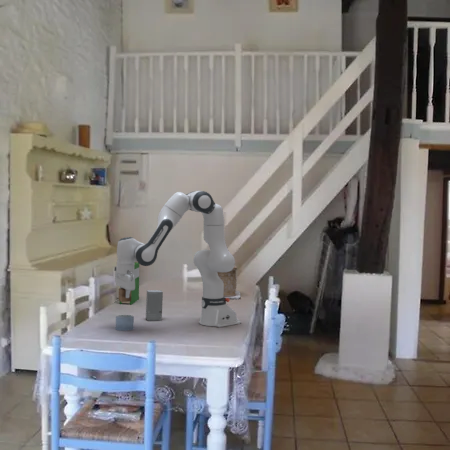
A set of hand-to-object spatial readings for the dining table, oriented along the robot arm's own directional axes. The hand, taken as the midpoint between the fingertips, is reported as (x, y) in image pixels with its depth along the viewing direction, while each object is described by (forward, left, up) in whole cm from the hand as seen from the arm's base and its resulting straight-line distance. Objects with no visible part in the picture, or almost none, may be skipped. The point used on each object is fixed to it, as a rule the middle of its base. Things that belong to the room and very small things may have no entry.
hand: (125, 296), depth 274 cm
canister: (0, 0, -16) cm, 16 cm away
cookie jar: (-90, -61, -17) cm, 110 cm away
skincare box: (-21, -13, -16) cm, 30 cm away
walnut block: (0, 0, -2) cm, 2 cm away
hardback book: (-25, -65, -16) cm, 72 cm away
